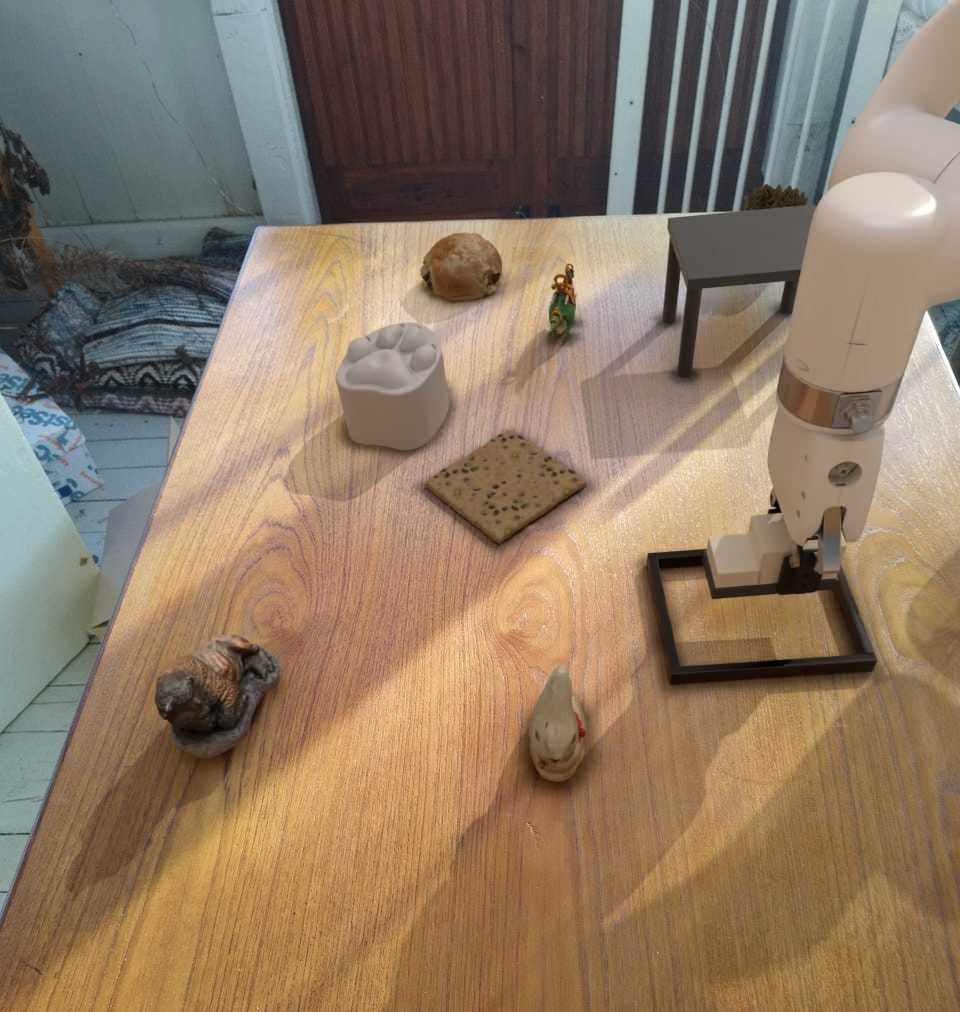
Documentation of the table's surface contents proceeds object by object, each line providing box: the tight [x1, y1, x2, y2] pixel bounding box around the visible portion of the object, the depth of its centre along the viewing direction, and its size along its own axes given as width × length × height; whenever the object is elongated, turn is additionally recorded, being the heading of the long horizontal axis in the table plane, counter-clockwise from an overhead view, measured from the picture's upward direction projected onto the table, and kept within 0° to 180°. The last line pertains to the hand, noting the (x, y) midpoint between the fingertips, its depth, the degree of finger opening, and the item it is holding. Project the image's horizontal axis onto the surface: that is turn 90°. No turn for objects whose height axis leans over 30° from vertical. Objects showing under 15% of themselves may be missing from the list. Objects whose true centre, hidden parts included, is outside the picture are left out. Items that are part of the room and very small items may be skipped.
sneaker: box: [702, 513, 847, 600], centre depth 71 cm, size 10×4×5 cm, turn 91°
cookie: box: [424, 429, 587, 544], centre depth 88 cm, size 12×12×1 cm
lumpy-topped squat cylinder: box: [334, 321, 450, 451], centre depth 95 cm, size 10×13×9 cm
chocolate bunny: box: [528, 664, 588, 783], centre depth 66 cm, size 6×8×10 cm
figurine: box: [548, 263, 578, 341], centre depth 101 cm, size 3×12×8 cm, turn 166°
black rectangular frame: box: [646, 548, 878, 685], centre depth 76 cm, size 17×14×2 cm
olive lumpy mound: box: [743, 183, 809, 211], centre depth 108 cm, size 8×7×8 cm
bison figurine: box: [154, 633, 282, 760], centre depth 70 cm, size 12×7×10 cm, turn 168°
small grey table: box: [661, 204, 817, 379], centre depth 96 cm, size 16×13×12 cm
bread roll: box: [419, 231, 503, 302], centre depth 112 cm, size 10×10×8 cm
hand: (788, 565), depth 72 cm, fingers closed on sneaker, 4 cm apart
